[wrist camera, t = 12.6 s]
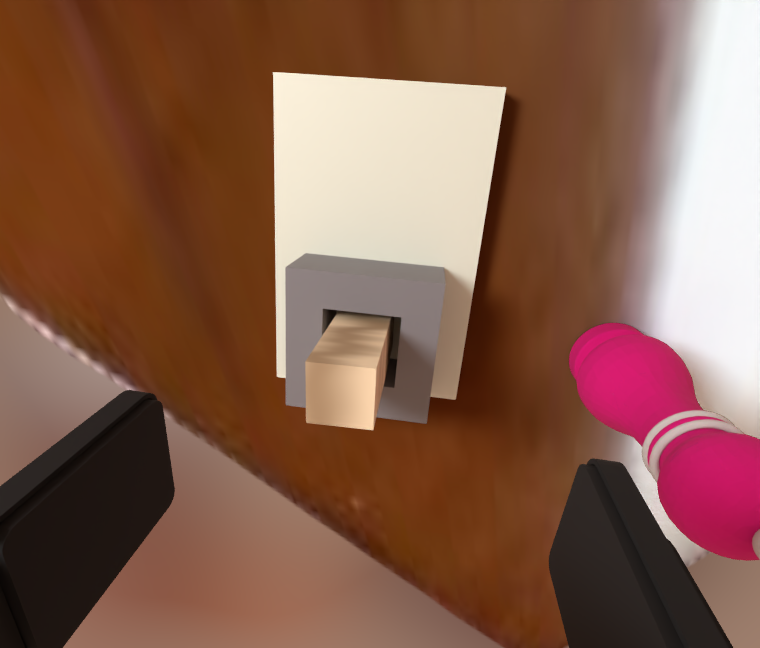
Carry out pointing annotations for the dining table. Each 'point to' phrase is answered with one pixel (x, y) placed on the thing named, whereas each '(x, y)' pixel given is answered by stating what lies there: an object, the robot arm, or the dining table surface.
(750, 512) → the pink bowling pin
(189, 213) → the dining table surface
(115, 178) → the dining table surface
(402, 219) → the board
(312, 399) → the square wooden peg
